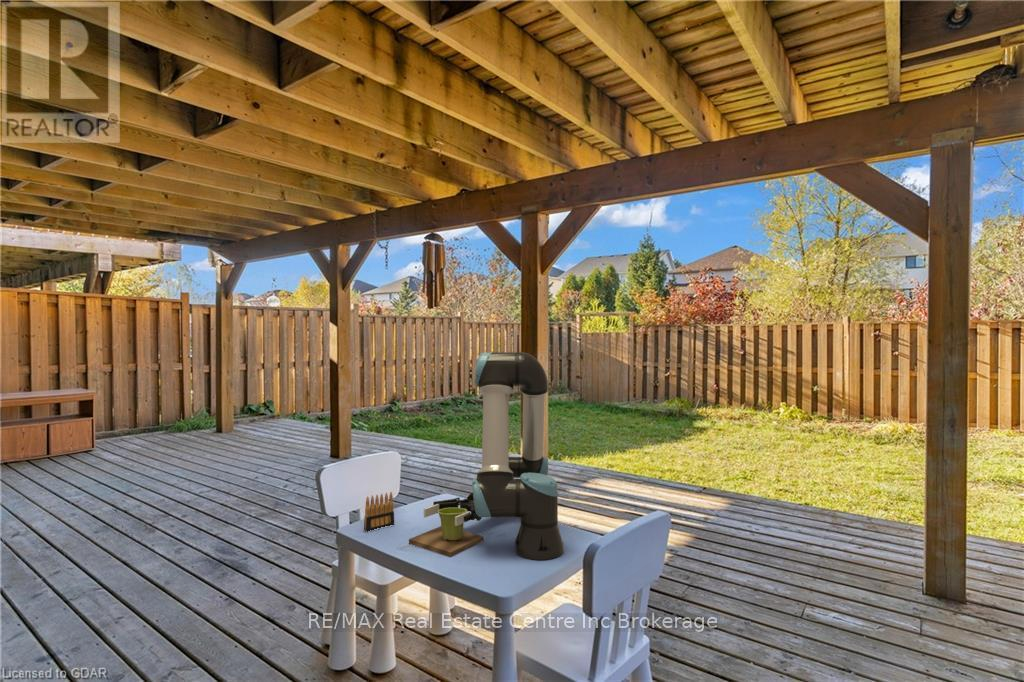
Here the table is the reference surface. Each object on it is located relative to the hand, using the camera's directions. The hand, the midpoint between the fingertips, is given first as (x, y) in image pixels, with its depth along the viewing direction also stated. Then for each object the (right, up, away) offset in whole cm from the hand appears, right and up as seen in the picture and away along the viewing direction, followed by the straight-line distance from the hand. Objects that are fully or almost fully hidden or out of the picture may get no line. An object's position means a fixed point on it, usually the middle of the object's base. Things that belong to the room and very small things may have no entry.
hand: (439, 517), depth 166 cm
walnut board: (+2, -9, +3) cm, 10 cm away
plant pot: (+4, -7, +1) cm, 9 cm away
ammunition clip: (-23, -9, +16) cm, 30 cm away
